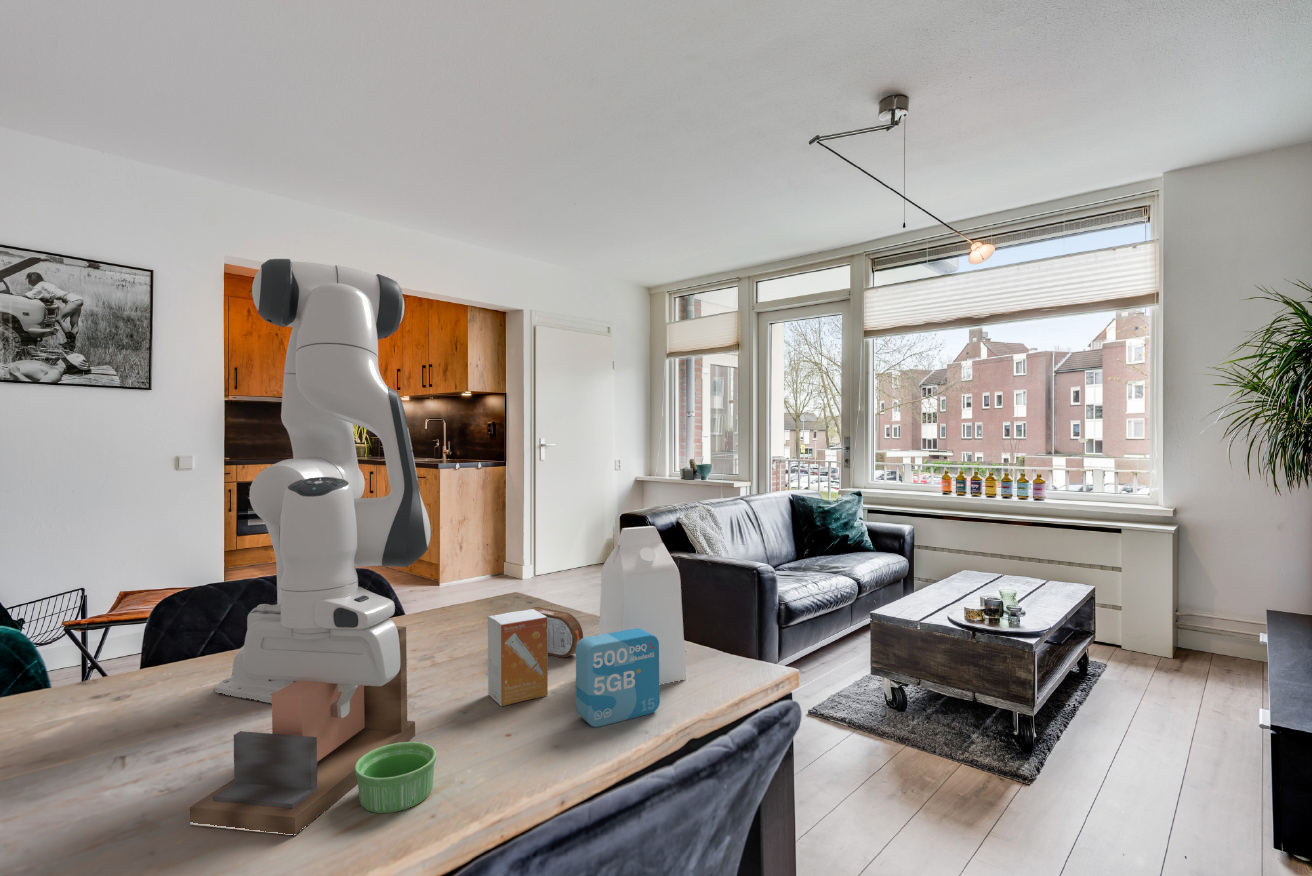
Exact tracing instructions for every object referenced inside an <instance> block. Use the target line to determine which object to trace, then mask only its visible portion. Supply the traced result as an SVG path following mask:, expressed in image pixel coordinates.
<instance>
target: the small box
mask: <svg viewBox="0 0 1312 876" xmlns="http://www.w3.org/2000/svg"><path fill="white" fill-rule="evenodd" d="M547 641H548V640H547V617H546V616H545V615H543V614H541V613H539V612H538V611H536V610H534V609H531V608H529V609H524V610H518V611H510V612H505V613H500V614H495V615H488V616H487V687H488V688H487V689H488V690H487V694H488V696H489V697H491V698H492V699H493V700H494V701H495V702H496V703H497V704H498V705H500V707H504V706H508V705H512V704H516V703H520V702H525V701H529V700H533V699H538V698H543V697H547V696H548V693H549V689H548V687H549V685H548V680H549V679H548V674H549V673H548V671H549V669H548V667H549V666H548V663H549V662H548V660H549V658H548V644H547Z"/></svg>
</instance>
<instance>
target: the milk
mask: <svg viewBox="0 0 1312 876" xmlns="http://www.w3.org/2000/svg"><path fill="white" fill-rule="evenodd" d="M600 580H601V581H600V582H601V583H600V599H599V600H600V603H599V604H600V605H599V621H598V622H599V623H598V624H599V626H598V635H601V634H607V633H613V632H619V631H624V630H630V629H636V628H640V629H642V630H644V631H646V632H648V633H650V634H652V635H654V636H655V637H656V638H657V639H658V641H659V684H663V683H668V684H671V683H670V682H673V681H678V682H680V681H679V680H683V679H686V680H687V672H686V671H687V670H686V669H687V668H686V656H685V653H686V652H685V637H684V636H685V635H684V622H683V620H684V619H683V618H684V617H683V603H682V588H681V587H682V584H681V583H682V582H681V573H680V570H679V568H678V566H677V564H676V562H675V561H674V559H673V557H672V555H671V554H670V552H669V551H668V549H667V547H666V545H665V543H664V542H663V540H662V538H661V536H660V533H659V531H658V530H657V526H654V525H650V526H649V525H647V526H634V527H624V528H623V527H622V528H621V531H620V533H619V537H618V540H617V543H616V545H615V546H614V548H613V550H611V553H610V554H609V555H608V557H607V558H606V559H605V561H604V563H603V565H602V570H601V578H600ZM673 683H674V682H673ZM663 685H664V684H663Z"/></svg>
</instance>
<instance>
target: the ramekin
mask: <svg viewBox="0 0 1312 876" xmlns="http://www.w3.org/2000/svg"><path fill="white" fill-rule="evenodd" d="M436 759H437V751H436V749H435V748H434V747H433V746H432V745H430V744H427V743H425V742H419V741H408V742H401V743H395V744H390V745H386V746H383V747H380V748H377V749H375V750H372V751H370V752H368V753H367V754H365V755H364V756H362V757H361V758H360V759H359V760H358V761H357V763H356V765H355V774H356V776H357V780H358V784H357V786H358V787H357V788H358V797H359V803H360V805H361V807H362V808H363V809H364V810H367V811H368V812H371V813H375V814H376V813H377V814H391V813H397V811H398V812H401V810H402V811H404V810H408V809H410V807H411V808H412V807H415V806H418V804H421V803H422V802H423V801H424V800H426V799H427V798H428V797H429V796H430V795H431V794H432V790H433V787H434V786H433V785H434V774H435V772H434V771H435V763H436Z"/></svg>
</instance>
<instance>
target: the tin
mask: <svg viewBox="0 0 1312 876" xmlns="http://www.w3.org/2000/svg"><path fill="white" fill-rule="evenodd" d="M530 609H534V610H536V611H538V612H539V613H541V614H543V615H545V616H546V617H547V640H548V641H547V644H548V655H549V656H553V657H556V658H561V659H562V658H563V659H564V658H567V657H570V656H572V655H574V654H575V655H576V646H577V644H578V642H579V641H580V640H581V639H582V638H584V631H583V628H582V626H581V623H580V622H579V620H578V619H577V617H575V616H574V615H573V614H571V613H569V612H568V611H567V612H566V611H561V610H556V609H550V608H546V607H540V606H534V607H531V608H530Z"/></svg>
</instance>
